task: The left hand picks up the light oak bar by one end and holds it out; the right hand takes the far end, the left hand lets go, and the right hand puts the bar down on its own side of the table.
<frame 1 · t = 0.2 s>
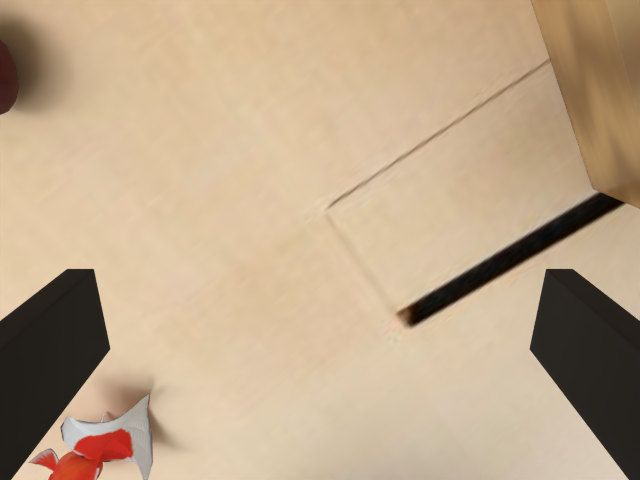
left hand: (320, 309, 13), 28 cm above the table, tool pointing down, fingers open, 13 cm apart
bar: (584, 53, 36), on the table
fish: (112, 421, 50), on the table
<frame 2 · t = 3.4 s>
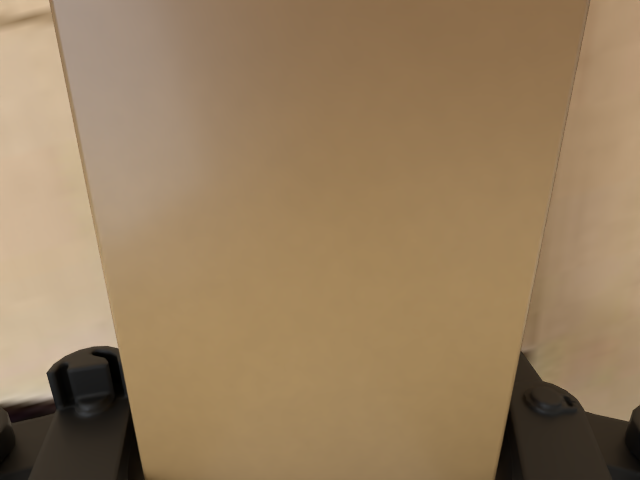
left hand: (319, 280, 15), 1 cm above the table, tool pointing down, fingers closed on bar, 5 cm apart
bar: (319, 29, 12), on the table, touching left hand
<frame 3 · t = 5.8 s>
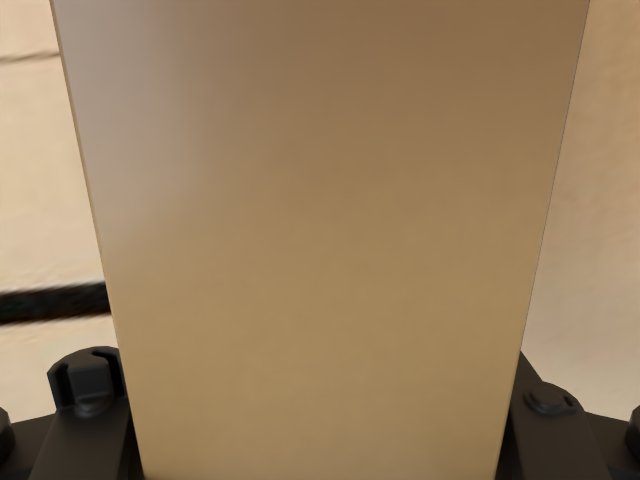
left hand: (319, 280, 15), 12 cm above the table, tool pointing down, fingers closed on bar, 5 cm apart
bar: (319, 29, 12), point 11 cm above the table, touching left hand
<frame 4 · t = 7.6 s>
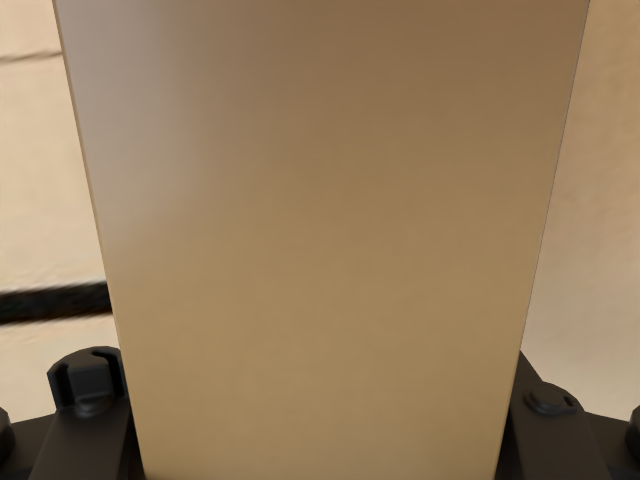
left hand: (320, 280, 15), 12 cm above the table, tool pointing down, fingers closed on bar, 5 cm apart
bar: (320, 29, 12), point 11 cm above the table, touching left hand, right hand
when the left hand's fingers open (12 cm above the table, at t = 8.6 s): bar stays where it is, held by the right hand.
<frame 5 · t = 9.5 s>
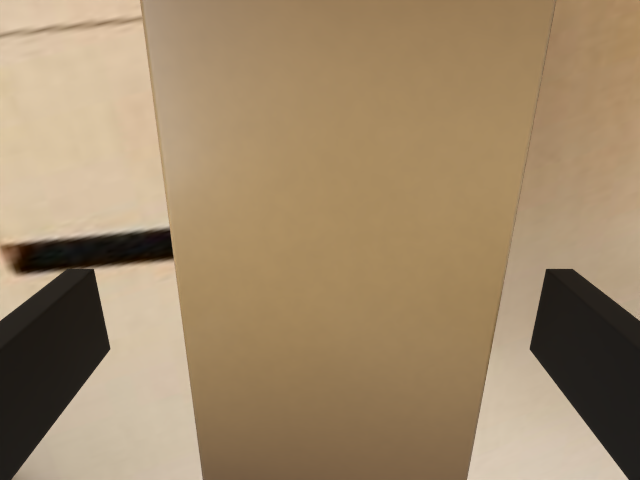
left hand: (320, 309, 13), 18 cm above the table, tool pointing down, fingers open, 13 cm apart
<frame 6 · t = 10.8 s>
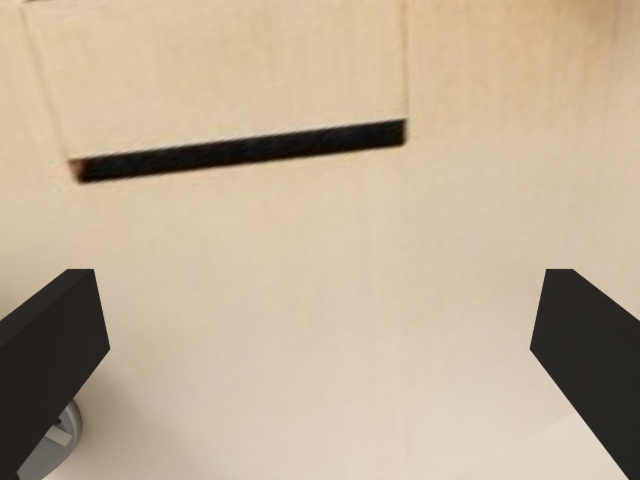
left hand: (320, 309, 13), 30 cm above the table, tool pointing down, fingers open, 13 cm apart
when the right hand's fingers open (6 cm above the table, at t = 14.0 s): bar stays where it is, on the table.
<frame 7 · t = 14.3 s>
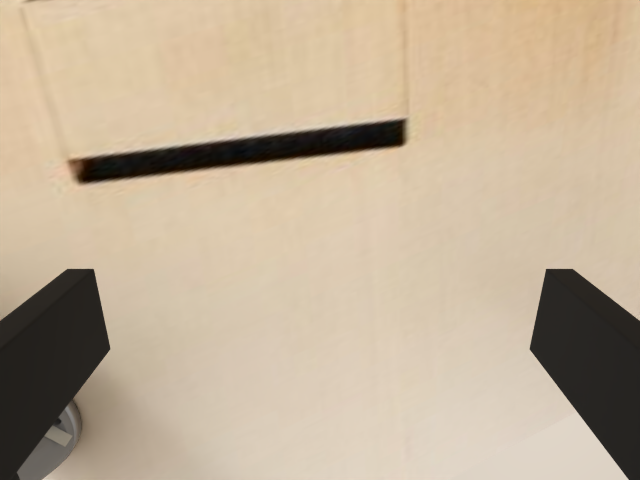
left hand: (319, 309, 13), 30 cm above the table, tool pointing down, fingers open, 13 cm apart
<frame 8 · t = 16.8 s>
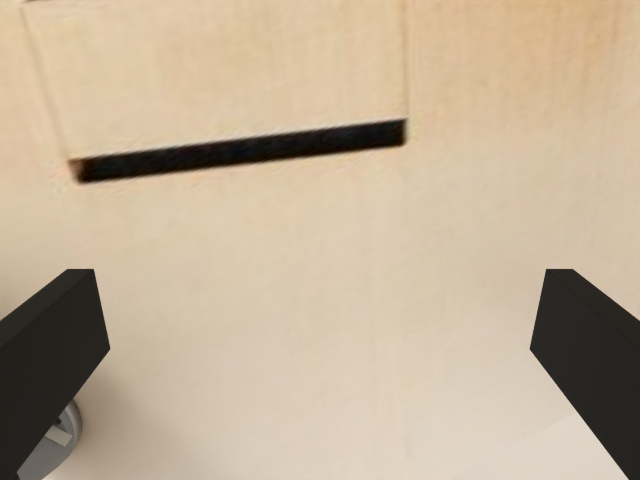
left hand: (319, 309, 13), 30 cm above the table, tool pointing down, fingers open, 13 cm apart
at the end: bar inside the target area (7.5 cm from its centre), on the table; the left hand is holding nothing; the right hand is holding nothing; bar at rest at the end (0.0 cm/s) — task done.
